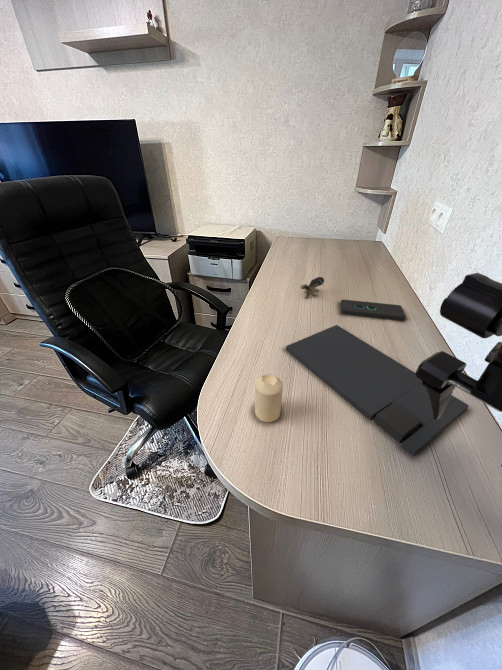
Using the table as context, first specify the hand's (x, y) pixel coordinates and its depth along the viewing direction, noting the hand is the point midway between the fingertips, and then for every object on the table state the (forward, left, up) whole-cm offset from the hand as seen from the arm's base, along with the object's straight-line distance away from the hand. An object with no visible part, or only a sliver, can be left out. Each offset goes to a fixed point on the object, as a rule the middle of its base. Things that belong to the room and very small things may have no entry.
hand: (467, 440), depth 41 cm
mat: (+24, -11, -12) cm, 29 cm away
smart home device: (+44, -39, -12) cm, 60 cm away
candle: (+28, +16, -12) cm, 34 cm away
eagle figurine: (+65, -31, -12) cm, 73 cm away
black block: (+11, -4, -12) cm, 17 cm away
